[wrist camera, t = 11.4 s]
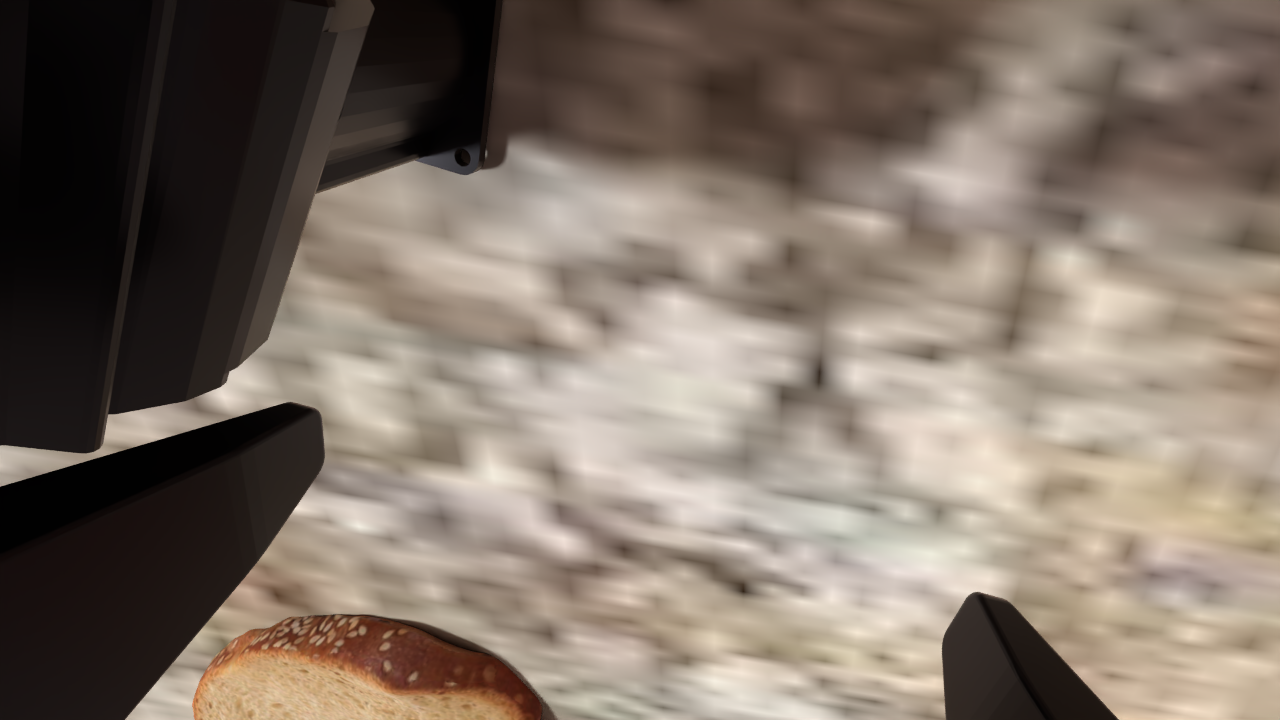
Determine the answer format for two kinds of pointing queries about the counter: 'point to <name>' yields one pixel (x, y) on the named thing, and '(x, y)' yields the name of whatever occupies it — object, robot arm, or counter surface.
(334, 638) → the slice of bread
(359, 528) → the counter surface
